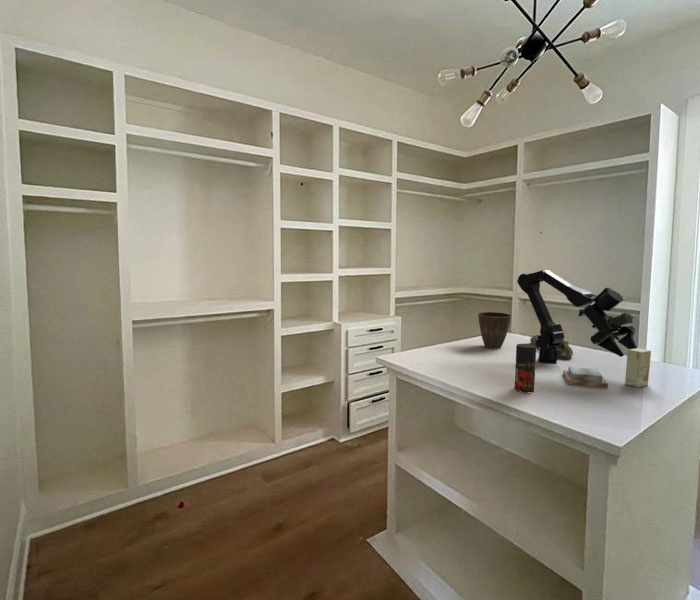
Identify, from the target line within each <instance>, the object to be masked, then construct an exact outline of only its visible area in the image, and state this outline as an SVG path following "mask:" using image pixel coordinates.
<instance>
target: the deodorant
mask: <svg viewBox="0 0 700 600" xmlns="http://www.w3.org/2000/svg"><path fill="white" fill-rule="evenodd" d="M515 349H516V350H515V370H514V371H515V372H514V390H515V389H516V390H518V391H521V392H520V393H522V392H533V393H534V392H535V383H536V382H535V380H536V377H535V376H536V359H537V358H536V357H537V347H536V346H535V345H532V344H531V343H517V344H516V348H515ZM516 390H515V391H516ZM518 391H517V392H518Z"/></svg>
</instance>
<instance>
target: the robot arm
mask: <svg viewBox="0 0 700 600" xmlns="http://www.w3.org/2000/svg"><path fill="white" fill-rule="evenodd" d="M516 282H517V284H518V286H519V288H520V289H521V291H522V292H524V293H525V294H526V295H527V297H528V299H529V301H530V303H531V306H532V308H533V311H534V313H535V315H536V317H537V320H538V322H539V324H540V328H539V329H540V331H539V333H540V334H539V335H541V337H540V338H539V339H538V340H537V341H536V346H537V347H536V348H538V347H539V348H538V357H537V359H538V362H540V363H550V364H557V362H558V359H559V358H558V351H557V348H556V347H557V346H560V344H561V342H562V341H564V339H565V331H564V329H563V328H562V325H561V324H560V323H555V322H554V320H553V318H552V316H551V313H550V311H549V309H548V307H547V305H546V302H545V300H544V298H543V296H542V294H541V291H540V290H541V289H540V287H541V283H543V282H545V283H546V284H547V285H549V286H551V287H552V288H554V289H555V290H557V291H559V293H561V294H563V295H564V296H565V298H567V301H568V302H570V303H571V304H572V306H574V307H576V308H577V307H578V308H579V307H585V308H580V309H578V311H579V313H578V317H586V318H587V319H588V321H589V322H590V323H591V324H592V325H591V328H592V329H596V330H597V331H596V332H595V333H594V334H593V335H591V336H590V342H591V343H592V344H593V345H594V346H595V345H597V347H600V348H603V349H605V350H606V351H608V352H611V353H613V354H615V355H616V356H619V357H621V358H622V357H624V355H625V354H624V352H623V351H622V350H621V348H620V347H619V345H618V344H617V343H619V344H620V345H622V346H623V347H625V348H626V349H627V350H629V349H636V348H638V347H637V344H636V343H635V340H634V334H636V328H635V327H634V326H633V325H627V324H632V323H634V321H633V319H634V315H632V314H631V313H629V312H628V311H627V312H623V313H621V314H620V315H618V316H615V317H614V316H613V315H608V313H606V311H607V312H611V311H612V310H613V309H614V308H615V307H617V306H618V305H619V304H620V303H622V302H623V301H624V298H623V296H622V295H621V294H620V293H619V292H617V291H615V290H614V289H612V288H611V287H605V288H604V289H602V291H601V292H600V293H599V294H596V295H595V294H593V292H592V291H589V290H587V289H584V288H581V287H577V286H574V285H573V284H571V283H570V282H568V281H566V280H565V279H563V278H561V277H560V276H558V275H557V274H555V273H553V272H552V271H551V270H550V269H549V270H548V269H541V270H539V271H536V272H531V273H521V274H520V275H519V276H518V278H517V280H516ZM616 340H617V342H616Z"/></svg>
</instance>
